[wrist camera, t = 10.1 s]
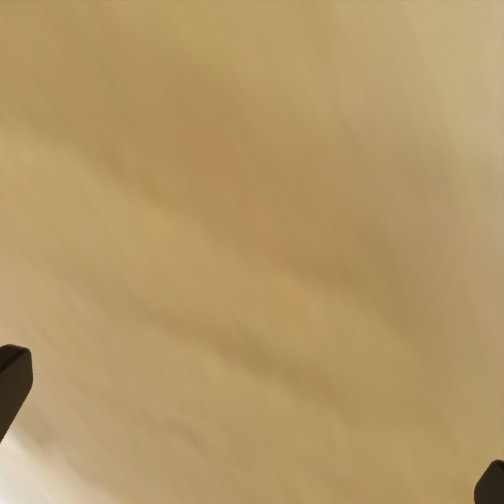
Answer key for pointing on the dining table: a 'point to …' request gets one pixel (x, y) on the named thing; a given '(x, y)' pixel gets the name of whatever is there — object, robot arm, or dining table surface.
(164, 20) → the dining table surface
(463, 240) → the dining table surface
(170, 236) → the dining table surface
